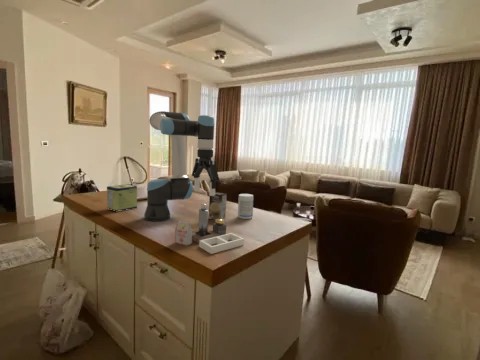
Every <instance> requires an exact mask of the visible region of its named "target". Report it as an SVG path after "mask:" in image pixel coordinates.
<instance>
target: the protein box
mask: <svg viewBox="0 0 480 360" xmlns="http://www.w3.org/2000/svg"><path fill="white" fill-rule="evenodd" d="M106 203H107V204H106V207H107V208H109V209H112V210H115V211H118V210H126V209H131V210H133V209H132V208H136V209H138V186H137V185H133V184H128V183H125V184H119V185H118V184H117V185H110V186H109V185H108V186H106ZM107 208H106V209H107ZM126 211H127V210H126Z"/></svg>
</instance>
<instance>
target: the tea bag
mask: <svg viewBox="0 0 480 360" xmlns="http://www.w3.org/2000/svg"><path fill="white" fill-rule="evenodd" d="M192 231H193V230H192V227H191V223H190V222H185V221H179V220H178V221H177V223H176V227H175V231H174V243H175V242H176V243H175V244H178V243H179V245H182V244H183V246H186V247H187V245H188V246H190V245H191V244H193V240H192Z"/></svg>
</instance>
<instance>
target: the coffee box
mask: <svg viewBox="0 0 480 360" xmlns="http://www.w3.org/2000/svg"><path fill="white" fill-rule="evenodd" d="M227 197H228V196H227V193H224V192H218V191H215V195H214V196H209V207H208V220H209V219H210V220H214V221H215V219H218V218H221V219H224V220H226V214H227V213H226V212H227Z"/></svg>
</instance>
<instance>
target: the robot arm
mask: <svg viewBox="0 0 480 360" xmlns="http://www.w3.org/2000/svg"><path fill="white" fill-rule="evenodd" d="M149 124H150V126H151V128H153V129H154V130H156V131H157V130H158V131H160V133H161V134H162V135H167V136H169V137H170V139H171V143H170V144H171V167H172V168H171V170H172V176H171V177H169V178H170V179H169V180H168V178H157V179H152V180H149V181H148V182H147V187H146V190H147V191H146V193H147V199H146V200H147V201H146V202H147V204H146V205H147V206H146V209H145V212H144V214H143V215H144V217H143V218H144V219H143V220H145V221H147V222H162V221H163V222H164V221H167V220H170V219H171V212H170V208H169V206H168V203H169V202H168V201H177V200H178V201H180V200H182V201H183V200H188V199H190V198H191V197H192V195H193V191H194V192H199V191H201V190H200V189H201V186H200V185H201V178H200V177H201V174H202V172H203V170H206V172H207V175H208V178H209V179H210V180H209V194H208V195H209V197H210V196H214V195H215V192H216V187H217V186H216V185H217V182H218V181H220V177H219V173H218V169H217V164H216V159H212V158H214V139H215V117H214V116H212V115H204V114H202V115H198V118H197V120H191V119H190V116H189V115H188V114H187V113H184V112H183V113H182V112H174V111H173V112H172V111H164V110H163V111H157V112H156V111H155V112H154V113H152V114H151V115H150V117H149ZM186 137H197V143H196V144H197V152H196V154H197V155H196V156H197V157H198V158H195V160H194V165H193V169H192V173H191V176H192V177H193V179H194V182H193V181H192V180H191V179H190V177H189V176H188V175H187V172H188V171H187V152H186V151H187V150H186V149H187V147H186Z"/></svg>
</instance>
